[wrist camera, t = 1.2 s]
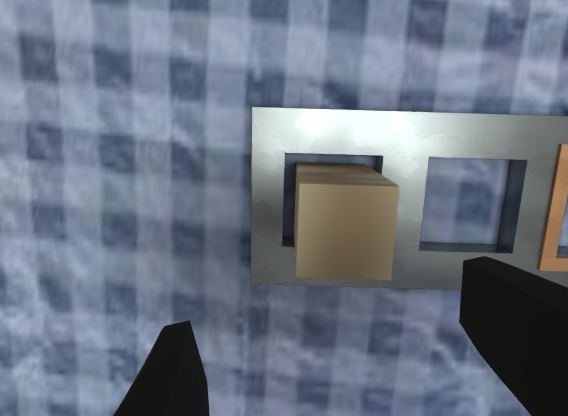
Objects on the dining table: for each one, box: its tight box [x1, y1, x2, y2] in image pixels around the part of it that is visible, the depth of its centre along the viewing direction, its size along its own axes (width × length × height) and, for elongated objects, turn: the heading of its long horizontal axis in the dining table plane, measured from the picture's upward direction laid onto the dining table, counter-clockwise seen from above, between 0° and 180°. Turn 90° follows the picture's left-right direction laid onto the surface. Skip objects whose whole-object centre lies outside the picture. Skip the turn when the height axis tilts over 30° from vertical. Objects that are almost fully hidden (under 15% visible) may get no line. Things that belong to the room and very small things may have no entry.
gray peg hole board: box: [251, 107, 568, 290], centre depth 21 cm, size 22×9×2 cm, turn 88°
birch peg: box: [294, 162, 400, 280], centre depth 19 cm, size 4×4×7 cm
